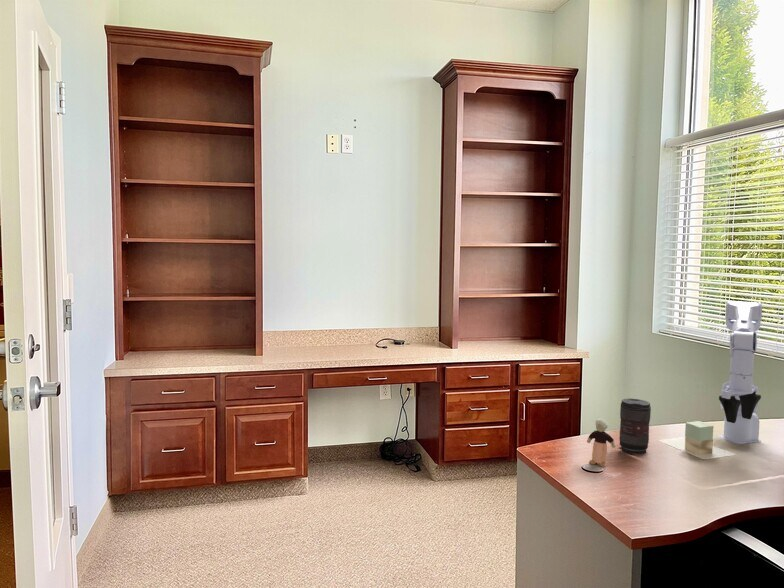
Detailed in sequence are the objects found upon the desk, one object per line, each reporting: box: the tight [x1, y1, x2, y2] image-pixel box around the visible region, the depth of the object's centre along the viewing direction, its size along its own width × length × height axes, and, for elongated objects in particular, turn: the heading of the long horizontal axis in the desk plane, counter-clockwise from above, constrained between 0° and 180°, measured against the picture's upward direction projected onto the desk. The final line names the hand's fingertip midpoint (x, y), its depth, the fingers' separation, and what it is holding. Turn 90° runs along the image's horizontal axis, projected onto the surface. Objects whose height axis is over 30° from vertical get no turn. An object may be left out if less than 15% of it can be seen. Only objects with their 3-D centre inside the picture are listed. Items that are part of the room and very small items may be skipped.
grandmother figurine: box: [586, 418, 617, 467], centre depth 157 cm, size 8×4×13 cm, turn 62°
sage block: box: [684, 420, 714, 441], centre depth 166 cm, size 5×5×4 cm
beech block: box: [684, 435, 714, 455], centre depth 166 cm, size 5×5×4 cm
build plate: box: [657, 436, 736, 461], centre depth 170 cm, size 12×17×1 cm
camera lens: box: [619, 398, 652, 456], centre depth 167 cm, size 8×8×15 cm
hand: (738, 420), depth 164 cm, fingers open, 7 cm apart
